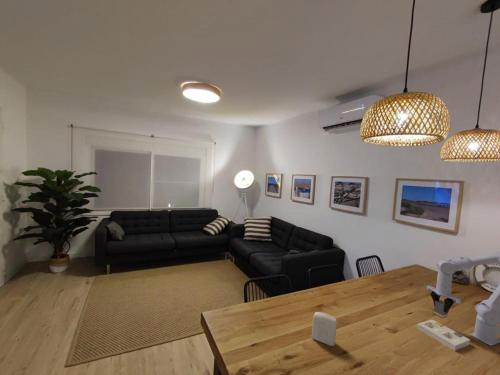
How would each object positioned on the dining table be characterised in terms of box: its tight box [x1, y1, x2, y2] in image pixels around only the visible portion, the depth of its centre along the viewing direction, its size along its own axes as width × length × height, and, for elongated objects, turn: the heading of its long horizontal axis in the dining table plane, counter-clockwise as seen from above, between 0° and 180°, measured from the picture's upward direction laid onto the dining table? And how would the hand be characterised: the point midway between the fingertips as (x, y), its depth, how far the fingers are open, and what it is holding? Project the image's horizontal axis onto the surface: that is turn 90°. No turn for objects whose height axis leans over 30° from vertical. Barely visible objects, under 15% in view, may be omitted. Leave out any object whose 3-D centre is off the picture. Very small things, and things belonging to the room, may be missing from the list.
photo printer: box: [311, 311, 338, 347], centre depth 105 cm, size 10×4×12 cm, turn 61°
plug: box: [433, 299, 449, 319], centre depth 121 cm, size 4×4×7 cm
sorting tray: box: [416, 319, 471, 352], centre depth 114 cm, size 12×16×3 cm
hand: (441, 309), depth 121 cm, fingers closed on plug, 4 cm apart
